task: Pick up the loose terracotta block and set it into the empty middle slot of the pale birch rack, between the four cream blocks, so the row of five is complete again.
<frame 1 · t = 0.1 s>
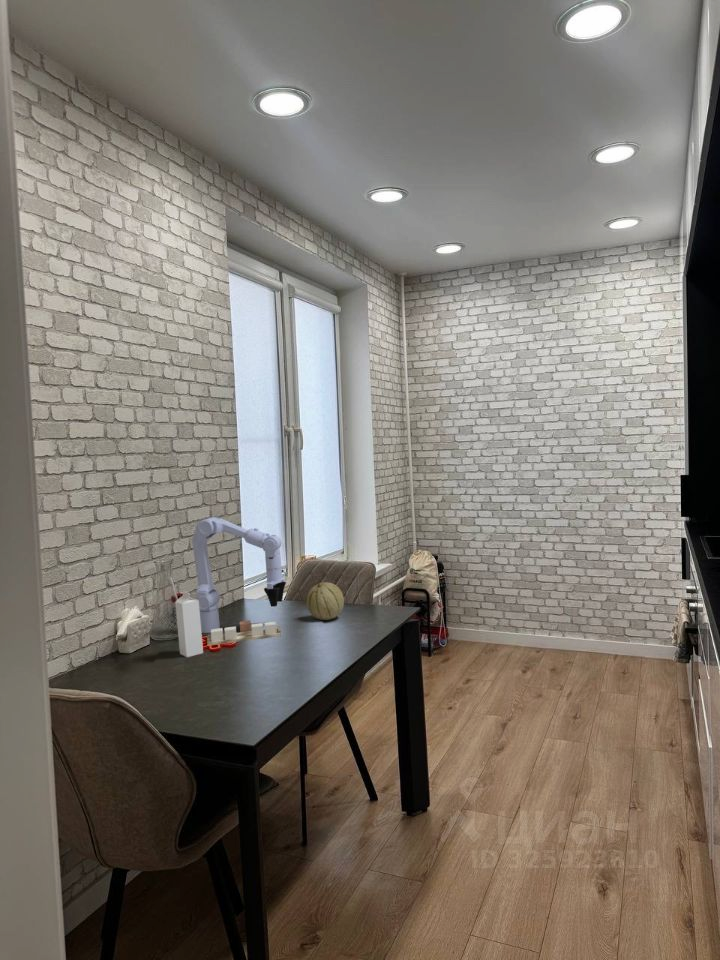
hand: (276, 603, 254), 10 cm above the table, fingers open, 7 cm apart
block terracotta: (246, 632, 255), on the table
block cream 2: (231, 639, 243), point 1 cm above the table, touching rack
block cream 4: (257, 636, 245), point 1 cm above the table, touching rack
rack: (244, 639, 244), on the table
cantaloupe: (326, 620, 265), on the table
milk: (191, 656, 230), on the table
block cream 5: (271, 634, 246), point 1 cm above the table, touching rack
block cream 1: (217, 641, 242), point 1 cm above the table, touching rack
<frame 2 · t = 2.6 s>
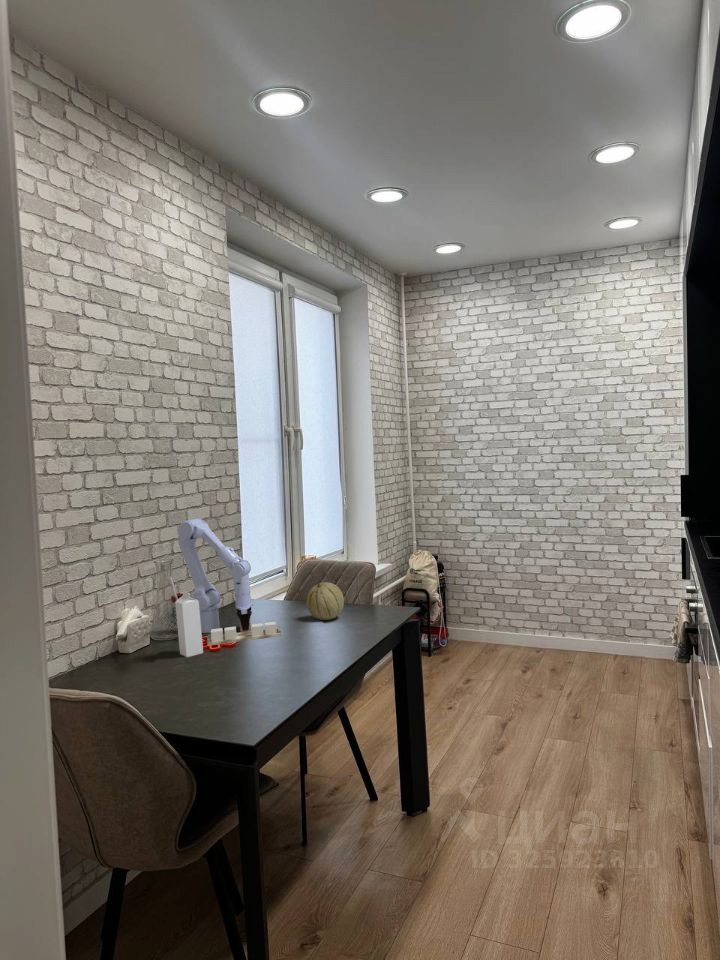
hand: (245, 628, 255), 1 cm above the table, fingers closed on block terracotta, 4 cm apart
block terracotta: (246, 632, 255), on the table, touching gripper
everything else where it was.
when the fingers open (3 cm above the table, at t = 5.9 s): block terracotta stays where it is, resting on rack.
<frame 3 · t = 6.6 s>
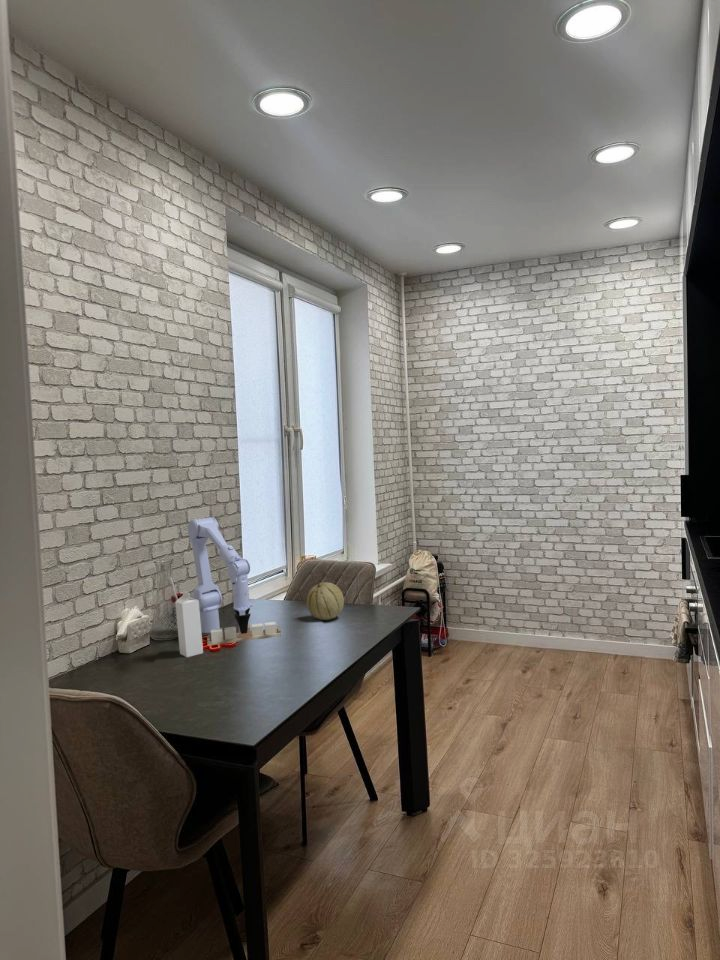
hand: (243, 630, 244), 3 cm above the table, fingers open, 7 cm apart
block terracotta: (245, 637, 244), point 1 cm above the table, touching rack
everything else where it was.
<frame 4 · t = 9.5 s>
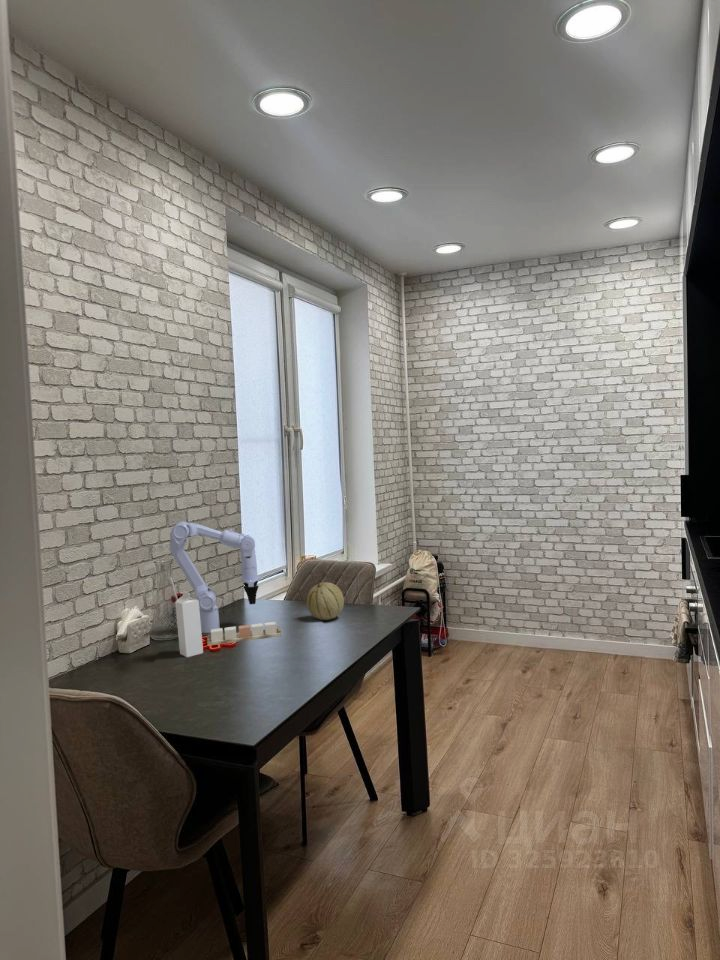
hand: (252, 601, 261), 10 cm above the table, fingers open, 7 cm apart
nothing on the table moved.
at the end: block terracotta 0.2 cm off-centre on the rack, point 0.8 cm above the rack's base; block terracotta tilted 0°; block cream 4 moved 0.1 cm from its start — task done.
